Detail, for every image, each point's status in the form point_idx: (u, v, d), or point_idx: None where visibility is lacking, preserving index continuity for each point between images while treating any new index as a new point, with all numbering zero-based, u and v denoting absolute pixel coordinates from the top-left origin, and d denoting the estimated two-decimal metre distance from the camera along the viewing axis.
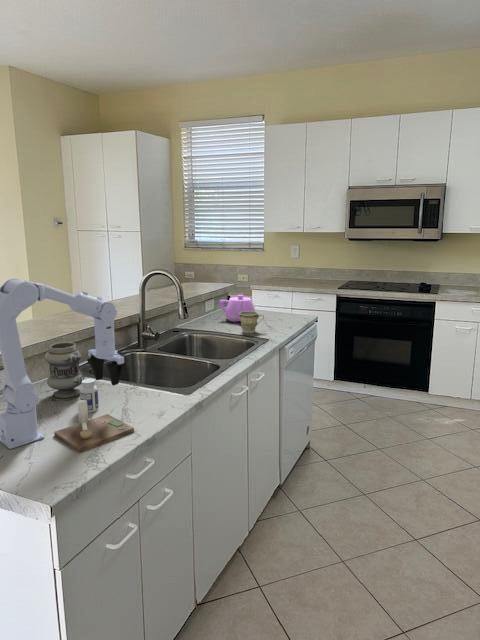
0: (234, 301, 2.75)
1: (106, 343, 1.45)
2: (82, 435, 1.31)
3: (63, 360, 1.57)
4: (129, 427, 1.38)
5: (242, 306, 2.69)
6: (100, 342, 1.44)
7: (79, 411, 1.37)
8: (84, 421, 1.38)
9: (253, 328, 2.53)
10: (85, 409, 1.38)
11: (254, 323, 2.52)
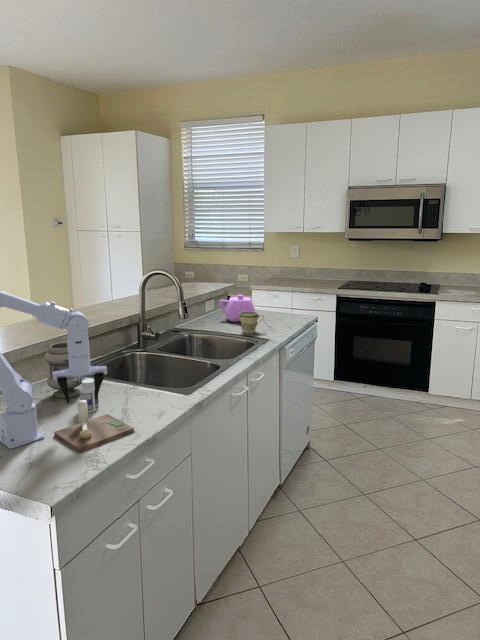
0: (234, 301, 2.75)
1: (88, 356, 1.34)
2: (82, 435, 1.31)
3: (63, 360, 1.57)
4: (129, 427, 1.38)
5: (242, 306, 2.69)
6: (84, 357, 1.33)
7: (79, 411, 1.37)
8: (84, 421, 1.38)
9: (253, 328, 2.53)
10: (85, 409, 1.38)
11: (254, 323, 2.52)
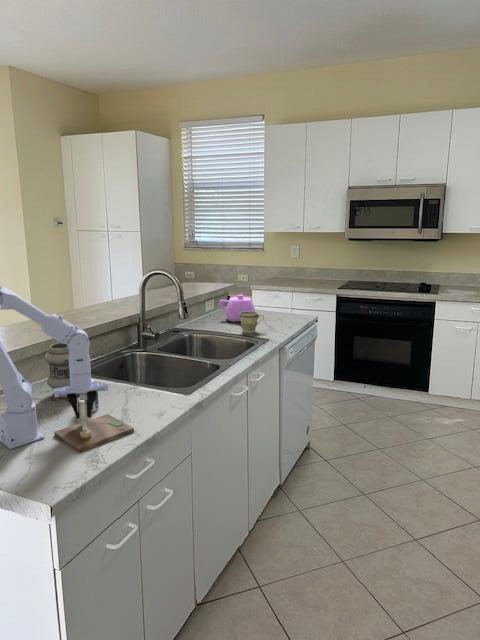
0: (234, 301, 2.75)
1: (89, 374, 1.36)
2: (82, 435, 1.31)
3: (63, 360, 1.57)
4: (129, 427, 1.38)
5: (242, 306, 2.69)
6: (85, 375, 1.34)
7: (79, 411, 1.37)
8: (84, 421, 1.38)
9: (253, 328, 2.53)
10: (85, 409, 1.38)
11: (254, 323, 2.52)
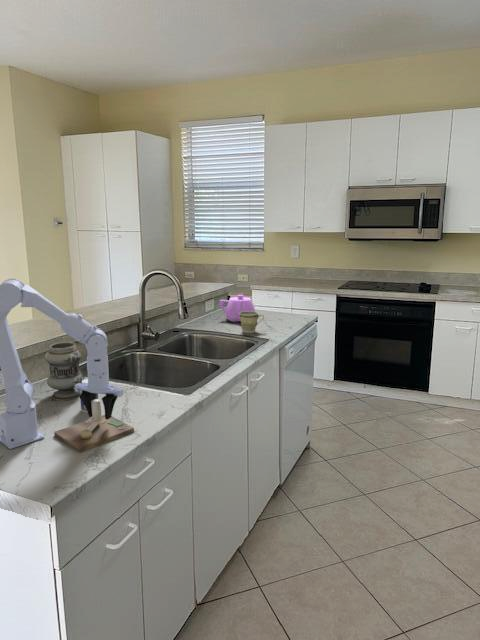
0: (234, 301, 2.75)
1: (103, 376, 1.34)
2: (80, 434, 1.31)
3: (63, 360, 1.57)
4: (129, 427, 1.38)
5: (242, 306, 2.69)
6: (96, 376, 1.33)
7: None
8: (95, 421, 1.38)
9: (253, 328, 2.53)
10: (97, 409, 1.38)
11: (254, 323, 2.52)
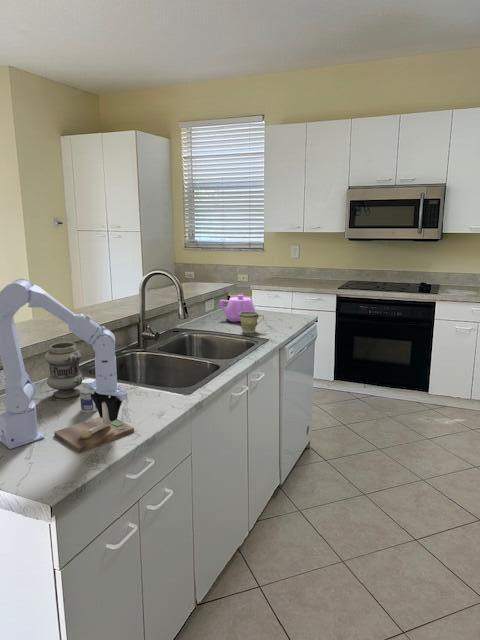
0: (234, 301, 2.75)
1: (107, 377, 1.33)
2: (80, 433, 1.31)
3: (63, 360, 1.57)
4: (129, 427, 1.38)
5: (242, 306, 2.69)
6: (101, 377, 1.32)
7: (102, 410, 1.38)
8: (104, 422, 1.37)
9: (253, 328, 2.53)
10: (105, 411, 1.37)
11: (254, 323, 2.52)
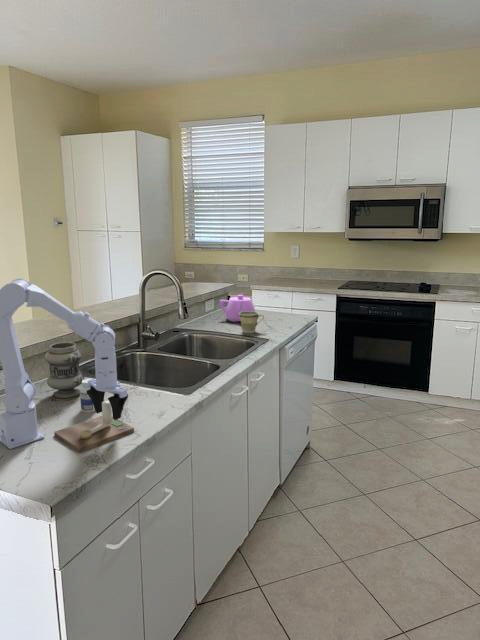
0: (234, 301, 2.75)
1: (107, 374, 1.32)
2: (80, 433, 1.31)
3: (63, 360, 1.57)
4: (129, 427, 1.38)
5: (242, 306, 2.69)
6: (101, 374, 1.32)
7: (102, 410, 1.38)
8: (104, 422, 1.37)
9: (253, 328, 2.53)
10: (105, 411, 1.37)
11: (254, 323, 2.52)
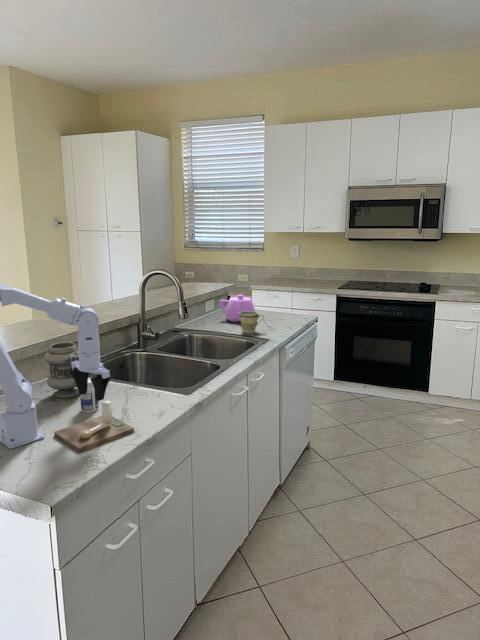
0: (234, 301, 2.75)
1: (90, 355, 1.32)
2: (80, 433, 1.31)
3: (63, 360, 1.57)
4: (129, 427, 1.38)
5: (242, 306, 2.69)
6: (84, 354, 1.32)
7: (102, 410, 1.38)
8: (104, 422, 1.37)
9: (253, 328, 2.53)
10: (105, 411, 1.37)
11: (254, 323, 2.52)
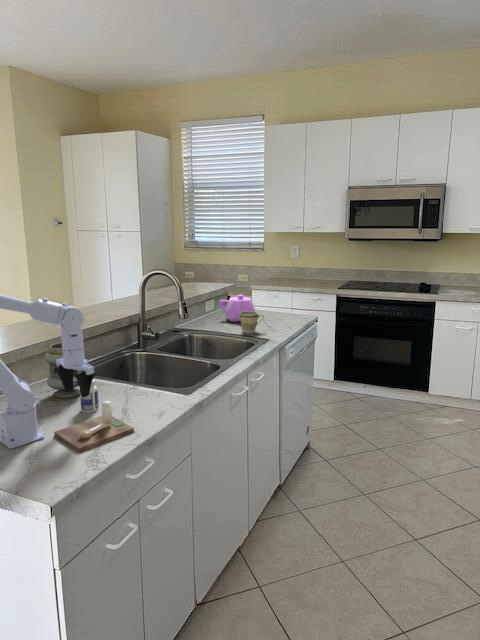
0: (234, 301, 2.75)
1: (74, 352, 1.34)
2: (80, 433, 1.31)
3: None
4: (129, 427, 1.38)
5: (242, 306, 2.69)
6: (67, 351, 1.33)
7: (102, 410, 1.38)
8: (104, 422, 1.37)
9: (253, 328, 2.53)
10: (105, 411, 1.37)
11: (254, 323, 2.52)
